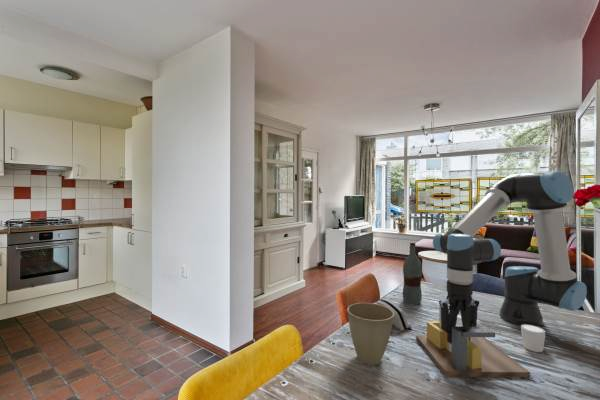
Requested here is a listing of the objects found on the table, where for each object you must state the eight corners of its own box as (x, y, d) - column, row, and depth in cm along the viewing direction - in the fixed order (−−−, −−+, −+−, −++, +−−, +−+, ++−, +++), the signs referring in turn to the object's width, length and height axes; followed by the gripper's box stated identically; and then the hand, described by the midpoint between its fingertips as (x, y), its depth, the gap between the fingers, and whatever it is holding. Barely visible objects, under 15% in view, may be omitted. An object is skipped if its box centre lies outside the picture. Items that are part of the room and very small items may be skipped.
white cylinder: (539, 354, 98) (539, 334, 98) (516, 345, 104) (516, 326, 104) (549, 350, 101) (549, 330, 101) (526, 341, 107) (526, 322, 107)
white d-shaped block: (412, 329, 116) (405, 307, 115) (403, 334, 115) (396, 312, 114) (388, 313, 132) (382, 293, 131) (379, 317, 131) (373, 297, 130)
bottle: (399, 298, 151) (399, 241, 150) (415, 298, 152) (416, 241, 151) (407, 305, 141) (408, 244, 141) (425, 305, 142) (426, 244, 142)
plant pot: (386, 378, 84) (386, 324, 84) (339, 362, 92) (340, 313, 92) (398, 355, 97) (398, 308, 97) (356, 342, 105) (356, 299, 105)
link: (487, 367, 88) (487, 347, 88) (465, 369, 87) (466, 349, 87) (444, 336, 107) (445, 320, 107) (426, 338, 106) (426, 321, 106)
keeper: (485, 369, 89) (486, 326, 89) (494, 377, 85) (495, 332, 85) (450, 369, 89) (451, 326, 89) (457, 377, 85) (458, 332, 85)
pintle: (444, 345, 104) (445, 306, 104) (448, 348, 101) (448, 309, 101) (437, 345, 104) (438, 306, 104) (441, 348, 101) (441, 309, 101)
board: (483, 340, 108) (483, 336, 108) (529, 377, 86) (529, 372, 86) (416, 339, 108) (416, 335, 108) (445, 376, 86) (445, 371, 86)
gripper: (473, 277, 100) (472, 344, 100) (429, 279, 97) (428, 348, 97) (491, 283, 92) (489, 355, 93) (444, 286, 90) (443, 360, 90)
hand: (458, 351), depth 95 cm, fingers open, 4 cm apart
